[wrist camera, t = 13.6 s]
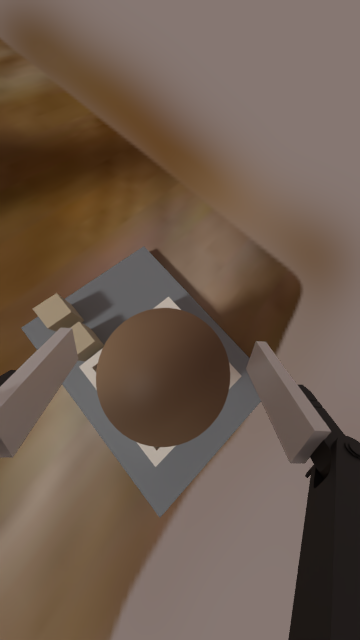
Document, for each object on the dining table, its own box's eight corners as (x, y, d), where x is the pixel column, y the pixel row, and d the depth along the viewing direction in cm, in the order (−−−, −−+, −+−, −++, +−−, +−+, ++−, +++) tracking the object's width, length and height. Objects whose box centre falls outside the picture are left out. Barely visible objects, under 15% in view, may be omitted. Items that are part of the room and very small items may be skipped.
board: (30, 331, 21) (-4, 320, 16) (144, 253, 25) (141, 228, 20) (160, 505, 18) (159, 549, 13) (267, 384, 21) (293, 387, 17)
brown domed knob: (117, 369, 19) (49, 363, 8) (166, 328, 21) (172, 272, 9) (159, 422, 18) (155, 508, 7) (208, 375, 20) (271, 376, 8)
